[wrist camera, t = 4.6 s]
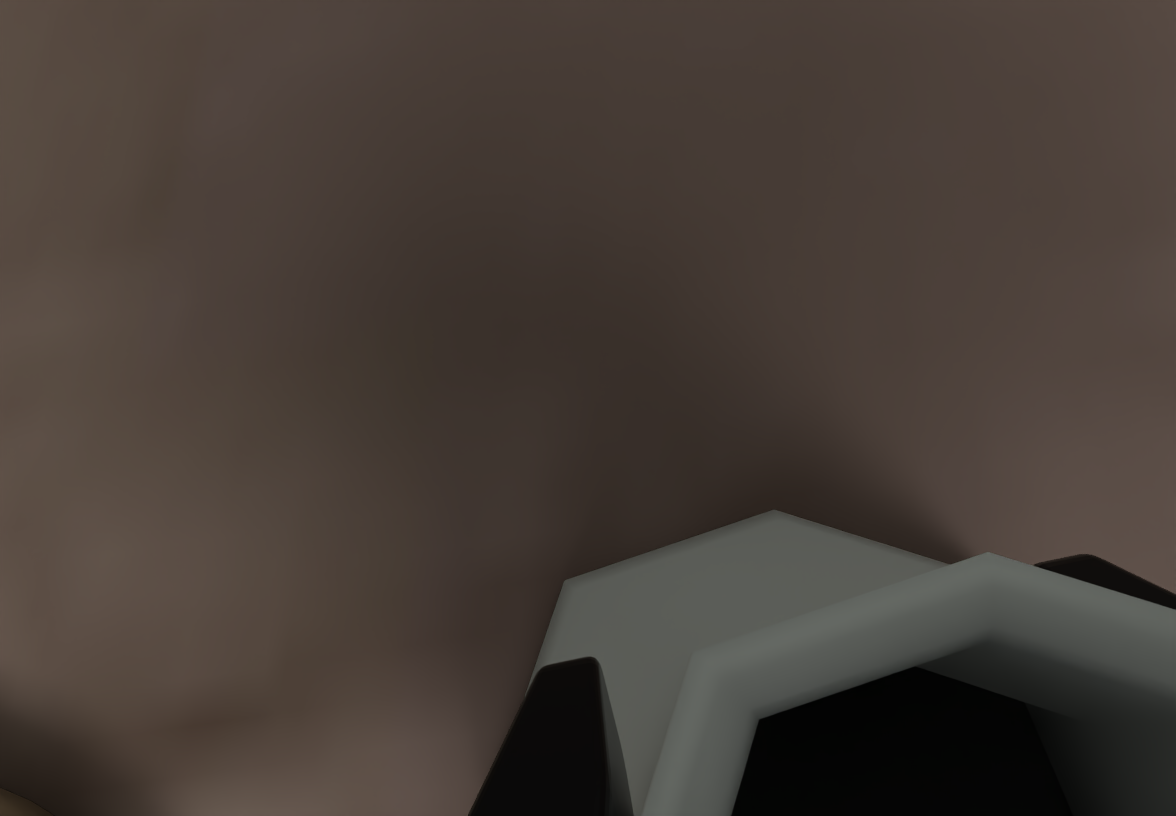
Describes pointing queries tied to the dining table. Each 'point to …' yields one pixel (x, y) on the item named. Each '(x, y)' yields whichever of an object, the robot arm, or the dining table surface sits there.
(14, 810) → the brass disc
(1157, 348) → the dining table surface
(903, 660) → the flask
